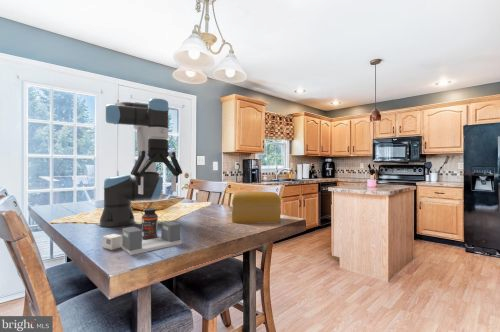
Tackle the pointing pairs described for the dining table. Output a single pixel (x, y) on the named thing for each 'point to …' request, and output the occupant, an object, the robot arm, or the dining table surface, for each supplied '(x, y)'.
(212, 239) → the dining table surface
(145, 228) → the supplement bottle
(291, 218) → the dining table surface
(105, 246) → the block
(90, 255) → the dining table surface
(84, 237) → the dining table surface
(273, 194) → the bread
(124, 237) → the board
